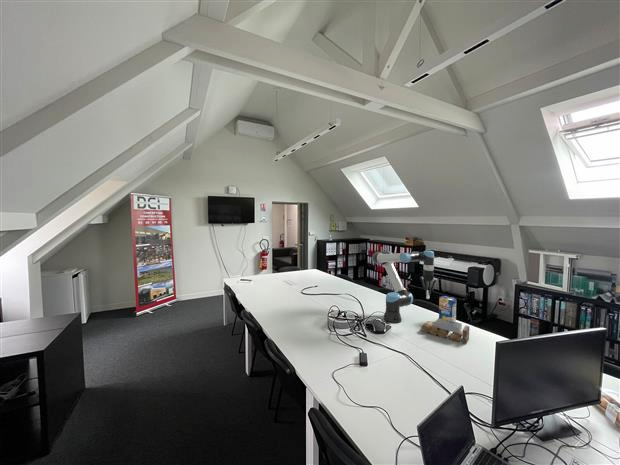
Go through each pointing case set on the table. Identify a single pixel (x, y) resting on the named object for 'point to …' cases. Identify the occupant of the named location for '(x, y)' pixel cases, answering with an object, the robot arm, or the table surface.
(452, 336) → the roller
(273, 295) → the table surface
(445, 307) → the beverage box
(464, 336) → the cradle and stop
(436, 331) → the bed rollers
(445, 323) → the slab
